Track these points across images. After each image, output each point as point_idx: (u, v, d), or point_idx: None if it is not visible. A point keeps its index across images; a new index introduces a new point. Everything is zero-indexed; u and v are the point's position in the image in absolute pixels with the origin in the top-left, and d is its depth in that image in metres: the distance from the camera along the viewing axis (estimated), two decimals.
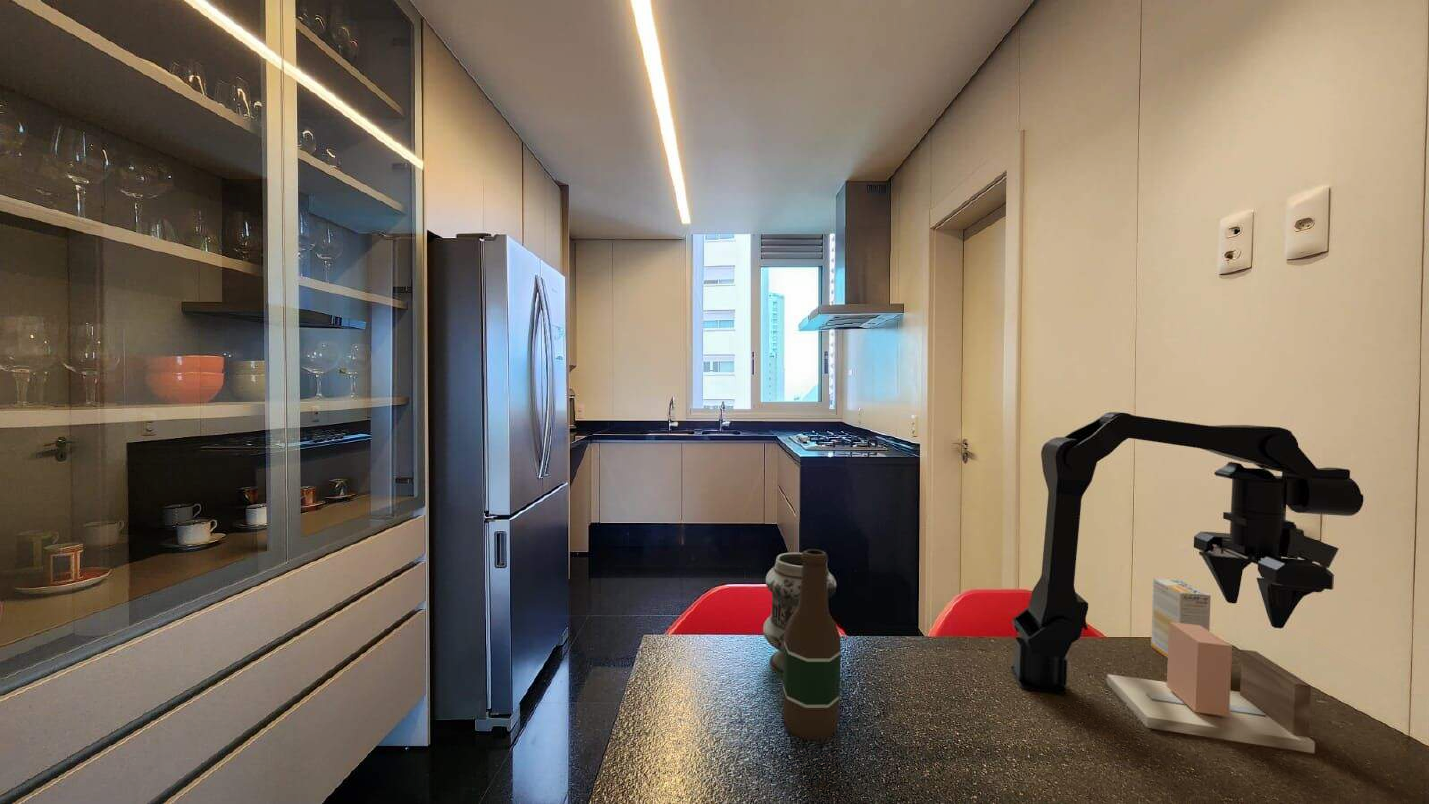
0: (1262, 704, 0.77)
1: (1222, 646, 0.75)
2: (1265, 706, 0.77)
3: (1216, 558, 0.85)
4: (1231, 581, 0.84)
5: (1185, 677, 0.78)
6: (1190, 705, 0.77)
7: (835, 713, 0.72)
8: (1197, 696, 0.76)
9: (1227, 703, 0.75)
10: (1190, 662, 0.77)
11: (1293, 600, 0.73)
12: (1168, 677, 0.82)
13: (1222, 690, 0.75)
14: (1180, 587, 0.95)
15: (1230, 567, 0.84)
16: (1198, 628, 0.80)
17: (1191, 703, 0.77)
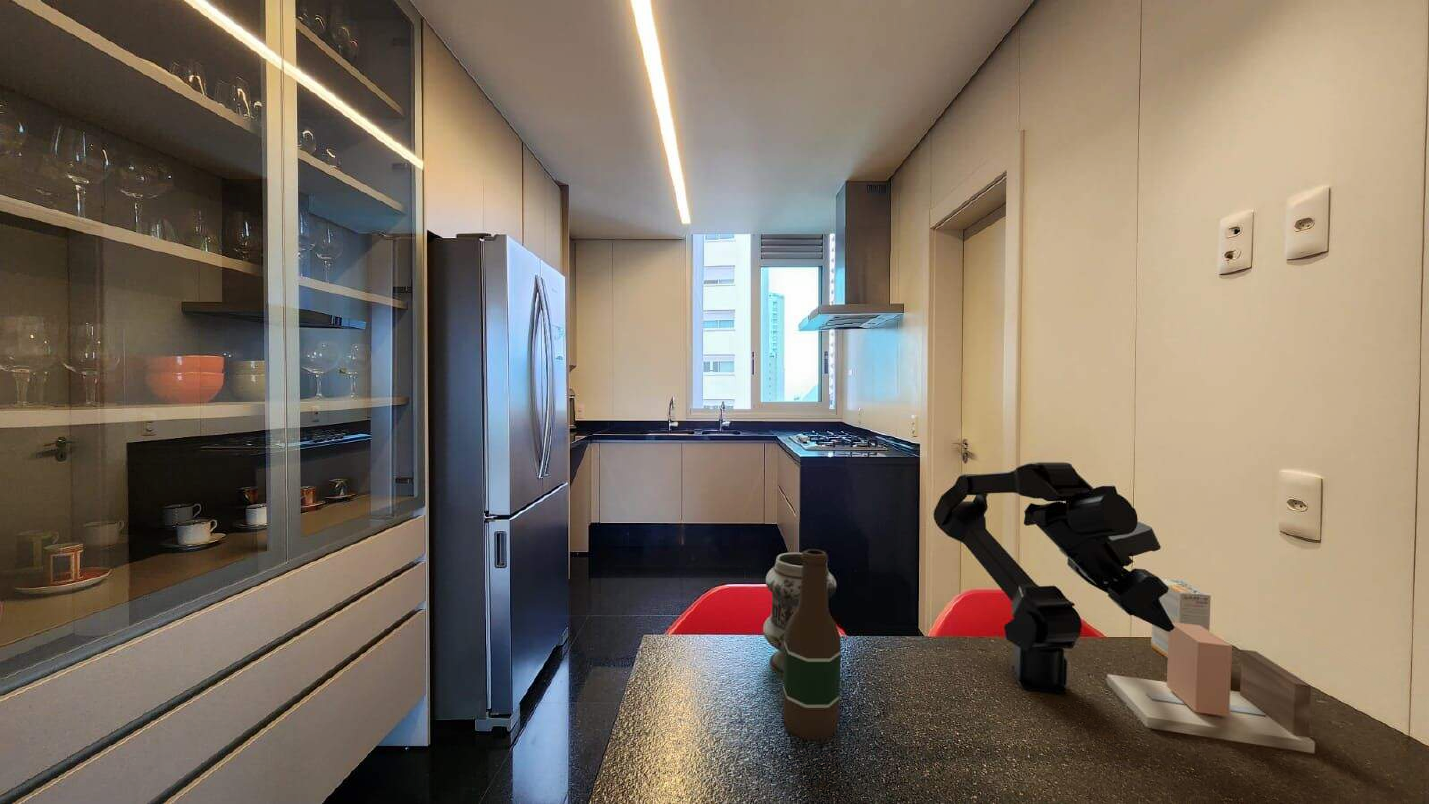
0: (1262, 704, 0.77)
1: (1222, 646, 0.75)
2: (1265, 706, 0.77)
3: None
4: None
5: (1185, 677, 0.78)
6: (1190, 705, 0.77)
7: (835, 713, 0.72)
8: (1197, 696, 0.76)
9: (1227, 703, 0.75)
10: (1190, 662, 0.77)
11: (1156, 605, 0.75)
12: (1168, 677, 0.82)
13: (1222, 690, 0.75)
14: (1180, 587, 0.95)
15: (1111, 579, 0.85)
16: (1198, 628, 0.80)
17: (1191, 703, 0.77)
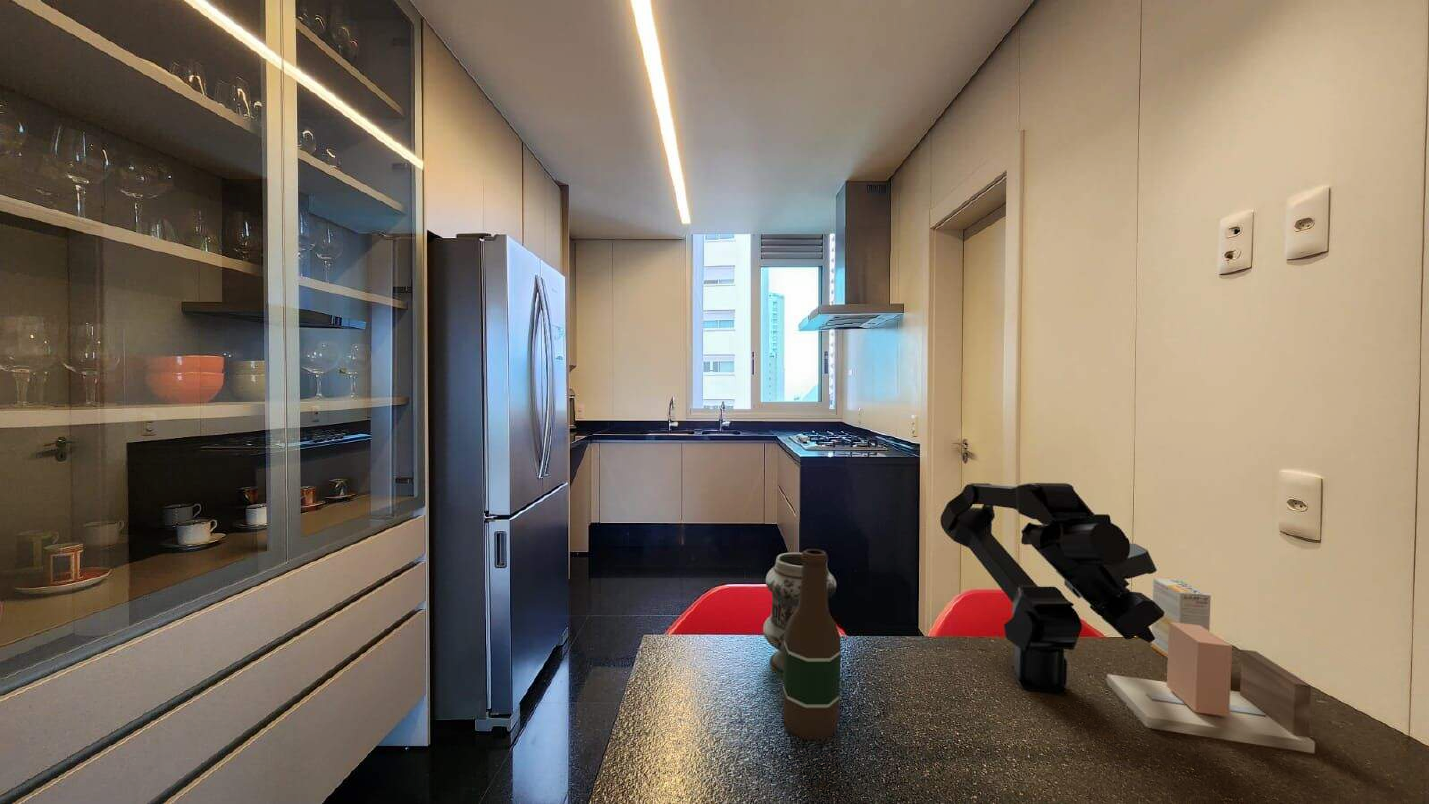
0: (1262, 704, 0.77)
1: (1222, 646, 0.75)
2: (1265, 706, 0.77)
3: (1103, 610, 0.82)
4: None
5: (1185, 677, 0.78)
6: (1190, 705, 0.77)
7: (835, 713, 0.72)
8: (1197, 696, 0.76)
9: (1227, 703, 0.75)
10: (1190, 662, 0.77)
11: None
12: (1168, 677, 0.82)
13: (1222, 690, 0.75)
14: (1180, 587, 0.95)
15: None
16: (1198, 628, 0.80)
17: (1191, 703, 0.77)
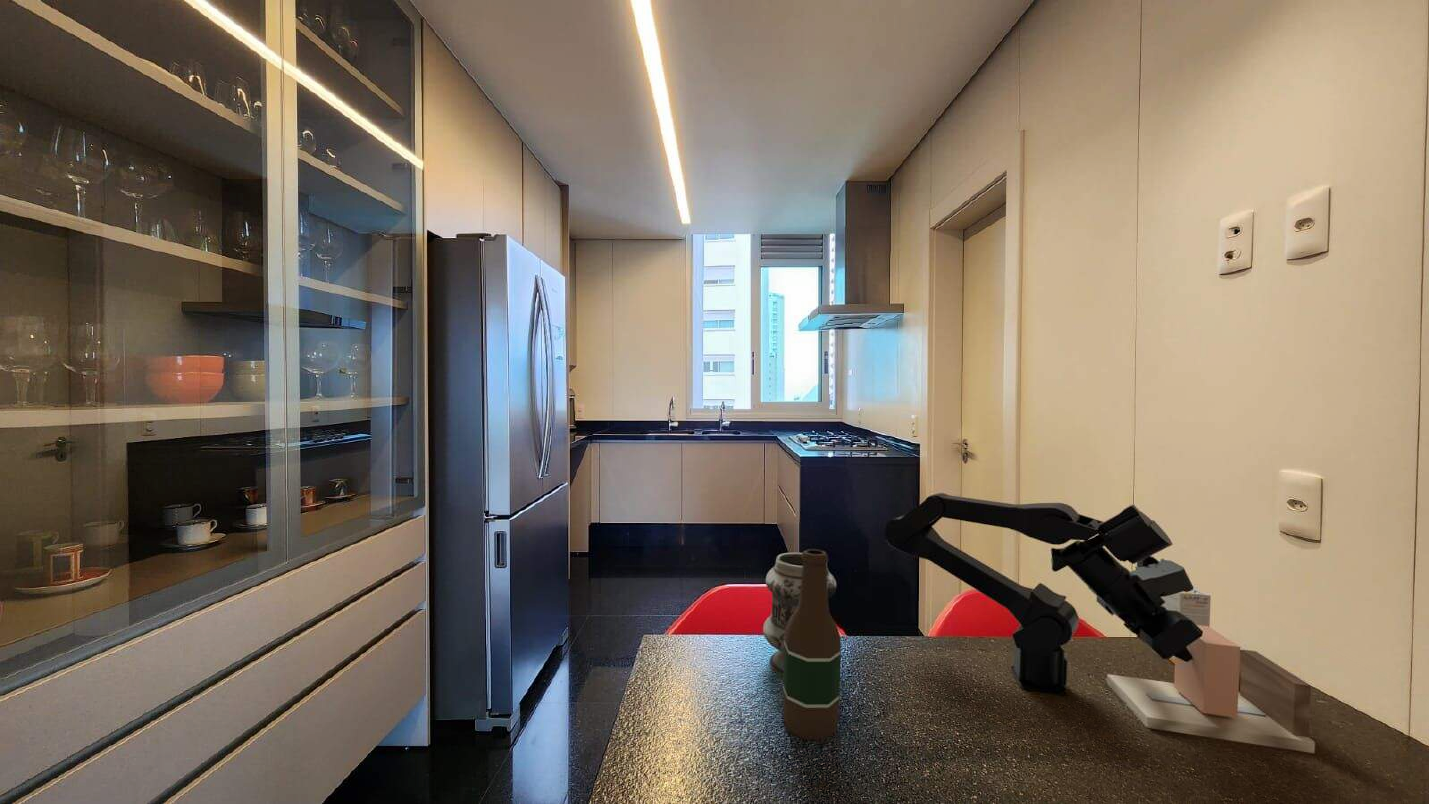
0: (1262, 704, 0.77)
1: (1230, 647, 0.75)
2: (1265, 706, 0.77)
3: (1138, 628, 0.81)
4: None
5: (1193, 678, 0.78)
6: (1198, 706, 0.77)
7: (835, 713, 0.72)
8: (1205, 697, 0.75)
9: (1236, 704, 0.75)
10: (1198, 663, 0.77)
11: None
12: (1175, 678, 0.82)
13: (1230, 691, 0.75)
14: None
15: None
16: (1206, 629, 0.80)
17: (1199, 704, 0.76)
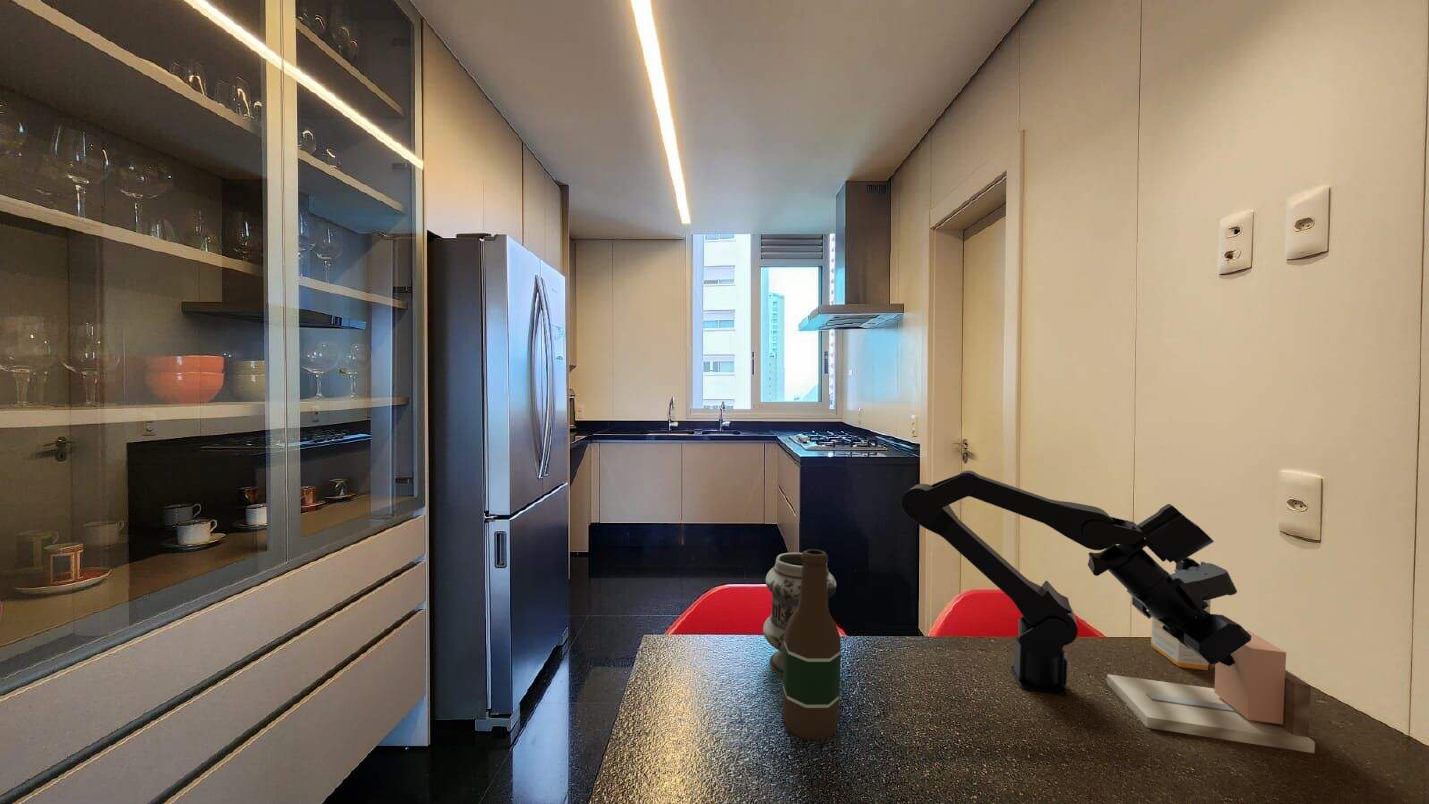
0: None
1: (1276, 652, 0.74)
2: None
3: (1179, 632, 0.80)
4: None
5: (1236, 684, 0.77)
6: (1242, 712, 0.75)
7: (835, 713, 0.72)
8: (1250, 703, 0.74)
9: (1281, 711, 0.73)
10: (1242, 669, 0.76)
11: None
12: (1216, 683, 0.81)
13: (1275, 697, 0.74)
14: None
15: None
16: None
17: (1243, 710, 0.75)
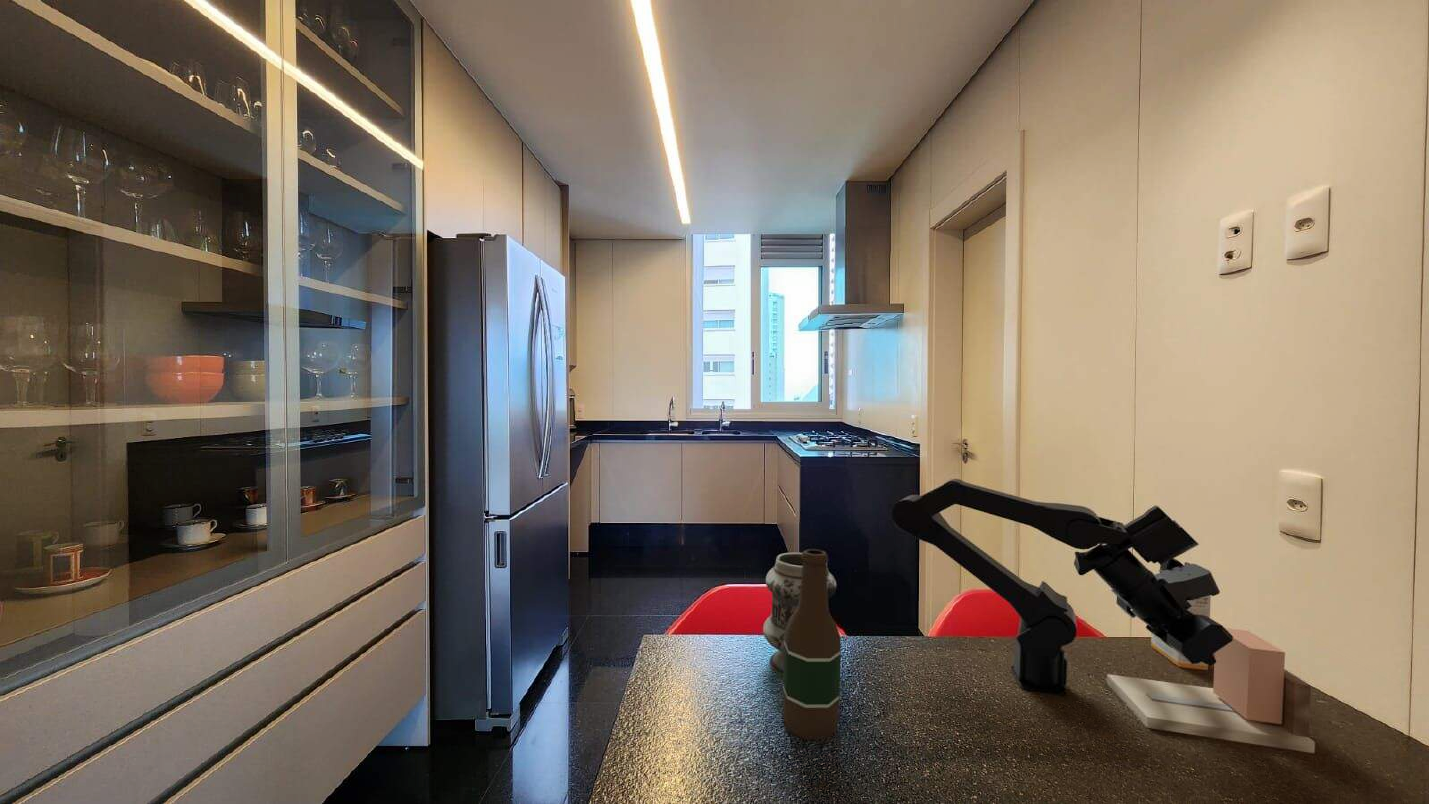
0: None
1: (1274, 652, 0.74)
2: None
3: (1162, 632, 0.80)
4: None
5: (1234, 684, 0.77)
6: (1240, 712, 0.75)
7: (835, 713, 0.72)
8: (1248, 703, 0.74)
9: (1280, 711, 0.73)
10: (1241, 669, 0.76)
11: None
12: (1215, 683, 0.81)
13: (1274, 697, 0.74)
14: None
15: None
16: (1246, 633, 0.79)
17: (1242, 710, 0.75)
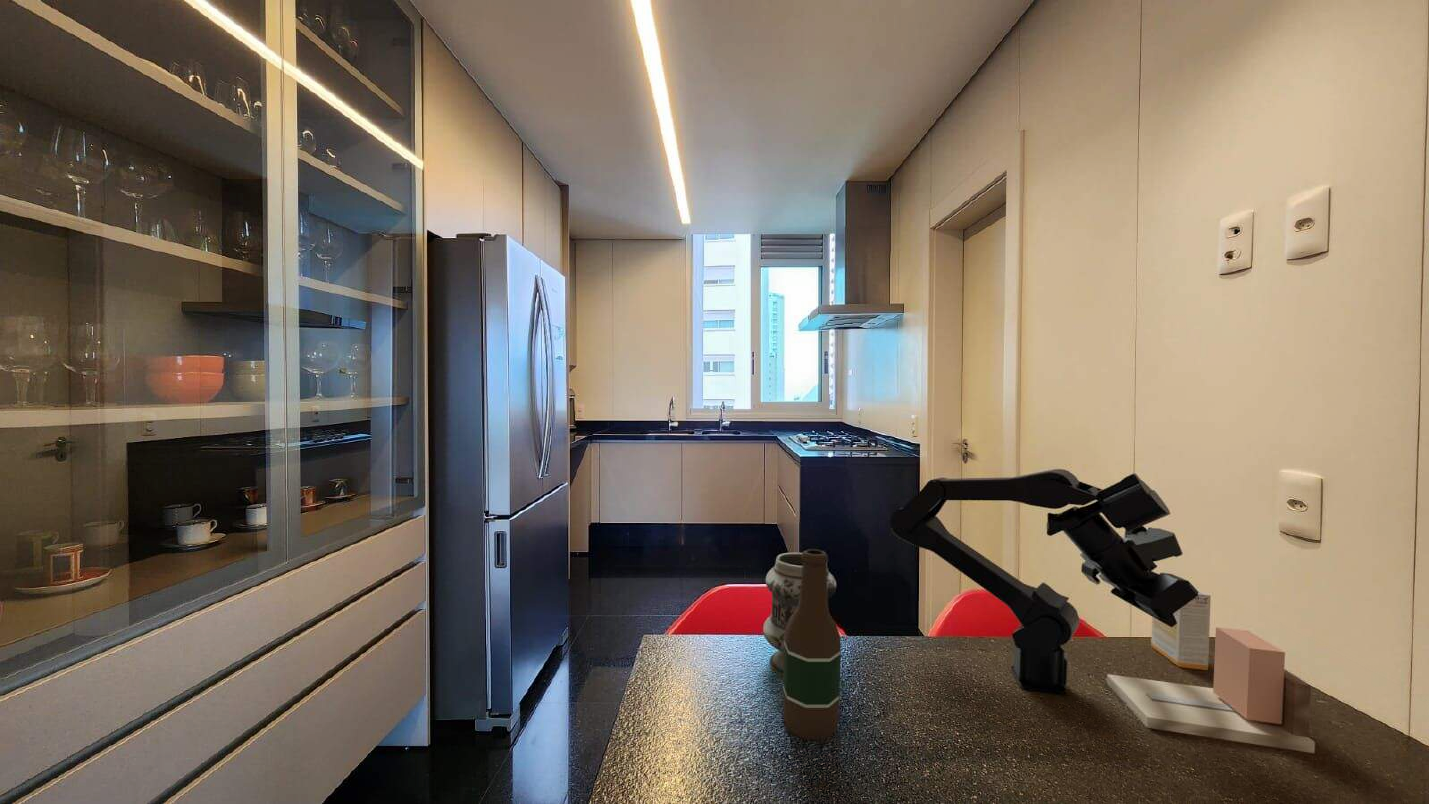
0: None
1: (1274, 652, 0.74)
2: None
3: (1127, 595, 0.82)
4: None
5: (1234, 684, 0.77)
6: (1240, 712, 0.75)
7: (835, 713, 0.72)
8: (1248, 703, 0.74)
9: (1280, 711, 0.73)
10: (1241, 669, 0.76)
11: None
12: (1215, 683, 0.81)
13: (1274, 697, 0.74)
14: None
15: None
16: (1246, 633, 0.79)
17: (1242, 710, 0.75)
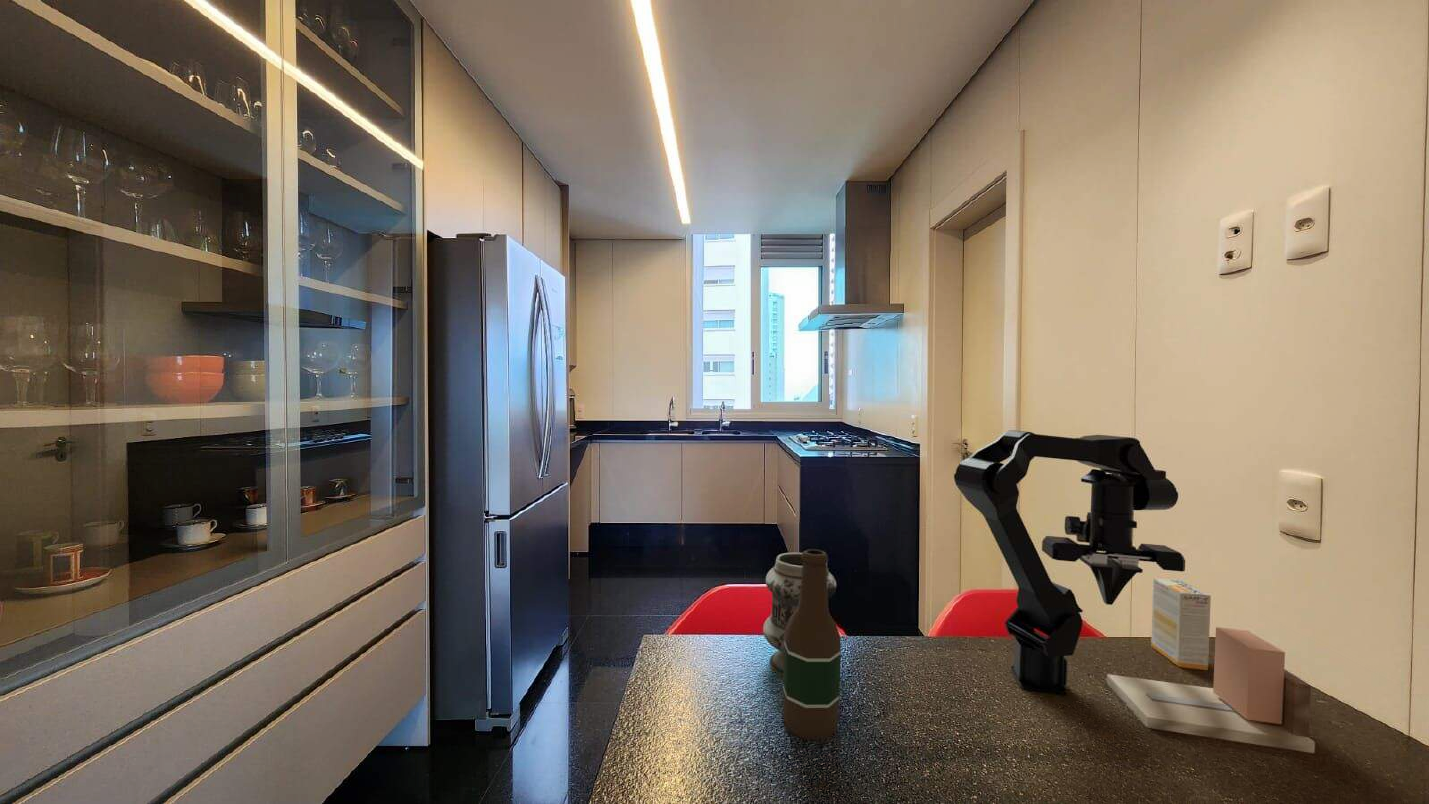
0: None
1: (1274, 652, 0.74)
2: None
3: None
4: None
5: (1234, 684, 0.77)
6: (1240, 712, 0.75)
7: (835, 713, 0.72)
8: (1248, 703, 0.74)
9: (1280, 711, 0.73)
10: (1241, 669, 0.76)
11: None
12: (1215, 683, 0.81)
13: (1274, 697, 0.74)
14: (1180, 587, 0.95)
15: None
16: (1246, 633, 0.79)
17: (1242, 710, 0.75)
